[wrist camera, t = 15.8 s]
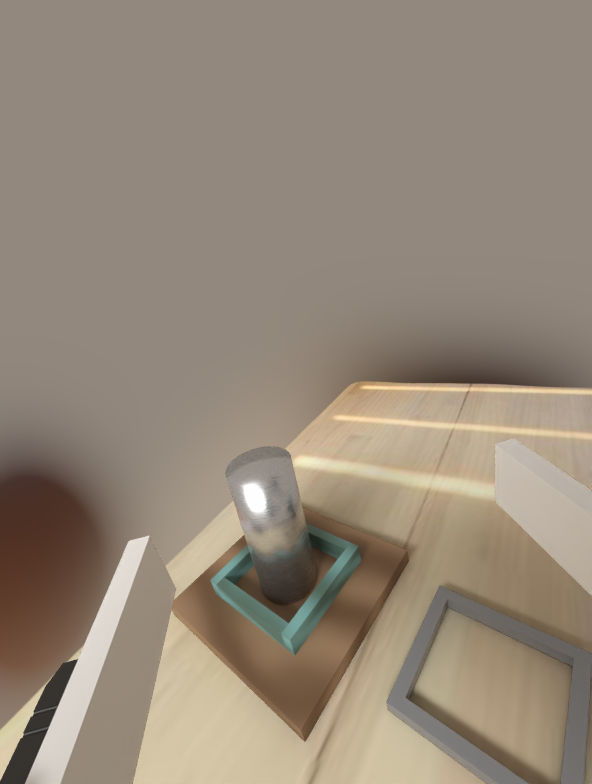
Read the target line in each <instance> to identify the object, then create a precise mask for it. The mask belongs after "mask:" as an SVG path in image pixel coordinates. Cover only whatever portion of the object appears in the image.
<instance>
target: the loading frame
mask: <svg viewBox="0 0 592 784" xmlns="http://www.w3.org/2000/svg"><path fill="white" fill-rule="evenodd" d="M447 607H449V608H451V609H453V610H455V611H457V612H459V613H461V614H463V615H466V616H468V617H470V618H472V619H474V620H476V621H478V622H480V623H482V624H484V625H486V626H489V627H491V628H493V629H495V630H497V631H499V632H501V633H503V634H505V635H507V636H509V637H512V638H514V639H516V640H518V641H520V642H522V643H524V644H526V645H528V646H530V647H532V648H535V649H537V650H539V651H541V652H543V653H545V654H547V655H549V656H551V657H553V658H555V659H557V660H560V661H562V662H564V663H566V664H568V665H570V666H572V667H573V669H572V678H571V688H570V697H569V706H568V716H567V725H566V735H565V744H564V753H563V763H562V772H561V781H560V784H584V773H585V758H586V743H587V729H588V714H589V699H590V684H591V670H592V653H589V652H587V651H585V650H583V649H580V648H578V647H576V646H574V645H571V644H569V643H567V642H565V641H563V640H560V639H558V638H556V637H554V636H551V635H549V634H547V633H545V632H542V631H540V630H538V629H536V628H533V627H531V626H529V625H527V624H524V623H522V622H520V621H518V620H515V619H513V618H511V617H509V616H507V615H504V614H502V613H500V612H498V611H495V610H493V609H491V608H489V607H486V606H484V605H482V604H480V603H477V602H475V601H473V600H471V599H468V598H466V597H464V596H462V595H460V594H457V593H455V592H453V591H451V590H448V589H446V588H444V587H442V586H439V588H438V590H437V593H436V595H435V597H434V599H433V601H432V603H431V606H430V608H429V610H428V612H427V614H426V617H425V619H424V621H423V623H422V625H421V627H420V630H419V632H418V634H417V636H416V638H415V641H414V643H413V645H412V647H411V649H410V651H409V654H408V656H407V658H406V660H405V662H404V665H403V667H402V669H401V671H400V673H399V675H398V678H397V680H396V682H395V684H394V686H393V689H392V691H391V693H390V695H389V697H388V699H387V702H386V703H387V708H388V710H389V711H390V712H391V713H393V714H394V715H395V716H397V717H398V718H399V719H401V720H402V721H403V722H405V723H406V724H407V725H409V726H410V727H411V728H413V729H414V730H415V731H417V732H418V733H419V734H421V735H422V736H423V737H425V738H426V739H428V740H429V741H430V742H432V743H433V744H434V745H436V746H437V747H438V748H440V749H441V750H442V751H444V752H445V753H446V754H448V755H449V756H450V757H452V758H453V759H454V760H456V761H457V762H458V763H460V764H461V765H462V766H464V767H465V768H466V769H468V770H469V771H470V772H472V773H473V774H474V775H476V776H477V777H478V778H480V779H481V780H483V781H484V782H485V783H487V784H529V783H527V782H526V781H524V780H523V779H522V778H520V777H519V776H517V775H516V774H514V773H513V772H511V771H510V770H509V769H507V768H506V767H504V766H503V765H501V764H500V763H499V762H497V761H496V760H494V759H493V758H491V757H490V756H489V755H487V754H486V753H484V752H483V751H481V750H480V749H478V748H477V747H476V746H474V745H473V744H471V743H470V742H468V741H467V740H466V739H464V738H463V737H461V736H460V735H458V734H457V733H455V732H454V731H453V730H451V729H450V728H448V727H447V726H445V725H444V724H443V723H441V722H440V721H438V720H437V719H435V718H434V717H432V716H431V715H430V714H428V713H427V712H425V711H424V710H422V709H421V708H420V707H418V706H417V705H415V704H414V703H412V702H411V701H409V698H410V696H411V693H412V691H413V689H414V686H415V684H416V681H417V679H418V677H419V674H420V672H421V669H422V667H423V665H424V662H425V660H426V657H427V655H428V653H429V650H430V648H431V645H432V643H433V641H434V638H435V636H436V633H437V631H438V629H439V626H440V624H441V621H442V619H443V617H444V614H445V612H446V609H447Z"/></svg>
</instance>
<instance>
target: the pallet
mask: <svg viewBox="0 0 592 784" xmlns="http://www.w3.org/2000/svg"><path fill="white" fill-rule="evenodd" d="M303 512H304V516H305V521H306V525H307V530H308V534H309V538H310V543H311V547H312V552H313V556H314V560H315V565H316V569H317V581H316V584H315V586H314V588H313V589H312V591H311V592H310V593H309V594H308V595H307V596H306V597H305V598H303V599H302V600H300V601H298V602H295V603H292V604H284V605H283V604H276V603H273V602H271V601H270V600H268V599H267V598H266V597H265V596H264V594H263V592H262V590H261V587H260V583H259V580H258V577H257V574H256V571H255V567H254V564H253V561H252V558H251V555H250V551H249V548H248V545H247V542H246V538H245V535H244V536H243V537H242V538H240V539H239V540H238V541H237V542H236V543H235V544H234V545H233V546H232V547H231V548H230V549H229V550H228V551H226V552H225V553H224V554H223V555H222V556H221V557H220V558H219V559H218V560H217V561H216V562H215V563H214V564H212V565H211V566H210V567H209V568H208V569H207V570H206V571H205V572H204V573H203V574H202V575H201V576H200V577H198V578H197V579H196V580H195V581H194V582H193V583H192V584H191V585H190V586H189V587H188V588H187V589H186V590H184V591H183V592H182V593H181V594H180V595H179V596H178V597H177V598H176V599H175V600H174V601H173V605H172V611H173V613H174V615H175V616H176V617H177V618H178V619H179V620H180V621H181V622H183V623H184V624H185V625H186V626H187V627H188V628H189V629H190V630H191V631H192V632H193V633H194V634H195V635H196V636H197V637H198V638H199V639H200V640H201V641H202V642H203V643H204V644H205V645H206V646H207V647H208V648H209V649H210V650H211V651H212V652H213V653H214V654H215V655H216V656H217V657H218V658H220V659H221V660H222V661H223V662H224V663H225V664H226V665H227V666H228V667H229V668H230V669H231V670H232V671H233V672H234V673H235V674H236V675H237V676H238V677H239V678H240V679H241V680H242V681H243V682H244V683H245V684H246V685H247V686H248V687H249V688H250V689H251V690H252V691H253V692H254V693H255V694H256V695H258V696H259V697H260V698H261V699H262V700H263V701H264V702H265V703H266V704H267V705H268V706H269V707H270V708H271V709H272V710H273V711H274V712H275V713H276V714H277V715H278V716H279V717H280V718H281V719H282V720H283V721H284V722H285V723H286V724H287V725H288V726H289V727H290V728H291V729H292V730H293V731H295V732H296V733H297V734H298V735H299V736H300V737H301V738H302V739H303V740H304V741H306V739H307V737H308V736H309V734H310V732H311V730H312V729H313V727H314V725H315V723H316V722H317V720H318V718H319V716H320V715H321V713H322V711H323V709H324V708H325V706H326V704H327V702H328V701H329V699H330V697H331V695H332V694H333V692H334V690H335V688H336V687H337V685H338V683H339V681H340V680H341V678H342V676H343V674H344V673H345V671H346V669H347V667H348V666H349V664H350V662H351V660H352V659H353V657H354V655H355V653H356V652H357V650H358V648H359V646H360V645H361V643H362V641H363V639H364V638H365V636H366V634H367V632H368V631H369V629H370V627H371V625H372V624H373V622H374V620H375V618H376V617H377V615H378V613H379V611H380V610H381V608H382V606H383V604H384V603H385V601H386V599H387V597H388V596H389V594H390V592H391V590H392V589H393V587H394V585H395V583H396V581H397V580H398V578H399V576H400V574H401V573H402V571H403V569H404V567H405V566H406V564H407V562H408V553H407V550H406V549H403V548H401V547H398V546H396V545H393V544H391V543H388V542H386V541H384V540H381V539H379V538H376V537H374V536H371V535H369V534H366V533H364V532H361V531H359V530H356V529H354V528H351V527H349V526H347V525H344V524H342V523H339V522H337V521H334V520H332V519H329V518H327V517H324V516H322V515H319V514H317V513H315V512H312V511H310V510H307V509H305V508H303Z"/></svg>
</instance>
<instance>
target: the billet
mask: <svg viewBox="0 0 592 784" xmlns="http://www.w3.org/2000/svg"><path fill="white" fill-rule="evenodd" d="M226 477H227V481H228V484H229V487H230V490H231V494H232V497H233V500H234V503H235V506H236V510H237V513H238V516H239V519H240V522H241V526H242V529H243V532H244V535H245V538H246V542H247V545H248V548H249V551H250V555H251V558H252V561H253V564H254V567H255V571H256V574H257V577H258V580H259V583H260V587H261V590H262V592H263V594H264V596H265V597H266V598H267V599H268V600H270V601H271V602H273V603H276V604H283V605H284V604H292V603H295V602H298V601H300V600H302V599H303V598H305V597H306V596H307V595H308V594H309V593H310V592H311V591H312V589H313V588H314V586H315V584H316V581H317V569H316V565H315V560H314V556H313V552H312V547H311V543H310V538H309V534H308V530H307V525H306V521H305V516H304V512H303V508H302V503H301V499H300V494H299V490H298V486H297V481H296V477H295V472H294V468H293V464H292V459H291V455H290V453H289V452H288V451H287V450H285V449H282V448H279V447H261V448H256V449H253V450H250V451H247V452H245V453H243V454H241V455H239V456H238V457H236V458H235V459H234V460H233V461H232V462H231V463H230V464H229V465H228V467H227V469H226Z"/></svg>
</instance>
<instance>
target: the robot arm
mask: <svg viewBox="0 0 592 784" xmlns="http://www.w3.org/2000/svg"><path fill="white" fill-rule="evenodd" d="M495 502H496V503H497V504H498V505H499V506H500V507H501V508H502V509H503V510H504V511H505V512H506V513H507V514H508V515H509V516H510V517H511V518H512V519H513V520H514V521H515V522H516V523H518V524H519V525H520V526H521V527H522V528H523V529H524V530H525V531H526V532H527V533H528V534H529V535H530V536H531V537H532V538H533V539H534V540H535V541H536V542H537V543H538V544H539V545H540V546H541V547H542V548H543V549H544V550H545V551H546V552H547V553H548V554H549V555H550V556H551V557H552V558H553V559H554V560H555V561H556V562H557V563H558V564H559V565H560V566H561V567H562V568H563V569H564V570H566V571H567V572H568V573H569V574H570V575H571V576H572V577H573V578H574V579H575V580H576V581H577V582H578V583H579V584H580V585H581V586H582V587H583V588H584V589H585V590H586V591H587V592H588V593H589V594H590V595H591V596H592V490H590V489H589V488H587V487H586V486H584V485H583V484H581V483H580V482H578V481H577V480H575V479H574V478H572V477H571V476H569V475H568V474H566V473H565V472H563V471H562V470H560V469H559V468H557V467H556V466H554V465H553V464H551V463H550V462H548V461H547V460H546V459H544V458H543V457H541V456H540V455H538V454H537V453H535V452H534V451H532V450H531V449H529V448H528V447H526V446H525V445H523V444H522V443H520V442H519V441H517V440H516V439H511V440H508V441H504V442H500V443H496V444H495ZM175 591H176V588H175V586H174V584H173V582H172V580H171V577H170V575H169V573H168V571H167V569H166V567H165V565H164V563H163V561H162V559H161V557H160V555H159V553H158V551H157V549H156V547H155V545H154V543H153V541H152V539H151V537H150V536H146V537H143V538H139V539H135V540H131V541H129V542H128V544H127V547H126V549H125V551H124V554H123V556H122V558H121V561H120V563H119V566H118V568H117V570H116V572H115V575H114V577H113V579H112V582H111V584H110V587H109V589H108V591H107V593H106V596H105V598H104V600H103V603H102V605H101V607H100V610H99V612H98V614H97V617H96V619H95V622H94V624H93V626H92V628H91V631H90V633H89V635H88V638H87V640H86V642H85V645H84V647H83V649H82V652H81V654H80V656H79V659H77V660H73V661H69V662H66V663H63V664H62V665H61V667H60V668H59V669H58V671H57V672H56V673H55V675H54V676H53V677H52V679H51V680H50V681H49V683H48V684H47V685H46V687H45V689H44V691H43V693H42V695H41V697H40V699H39V701H38V703H37V705H36V707H35V710H34V715H33V716H32V717H31V718H30V720H29V722H28V724H27V726H26V728H25V730H24V736H23V738H21V739H20V741H19V743H18V745H17V747H16V749H15V751H14V754H13V756H12V758H11V760H10V762H9V764H8V766H7V768H6V770H5V772H4V774H3V777H2V779H1V781H0V784H133V780H134V776H135V771H136V767H137V762H138V758H139V753H140V749H141V744H142V740H143V735H144V731H145V726H146V722H147V717H148V713H149V708H150V704H151V699H152V695H153V690H154V686H155V681H156V677H157V672H158V668H159V663H160V659H161V654H162V650H163V645H164V641H165V636H166V632H167V627H168V623H169V618H170V614H171V609H172V605H173V600H174V596H175Z"/></svg>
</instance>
